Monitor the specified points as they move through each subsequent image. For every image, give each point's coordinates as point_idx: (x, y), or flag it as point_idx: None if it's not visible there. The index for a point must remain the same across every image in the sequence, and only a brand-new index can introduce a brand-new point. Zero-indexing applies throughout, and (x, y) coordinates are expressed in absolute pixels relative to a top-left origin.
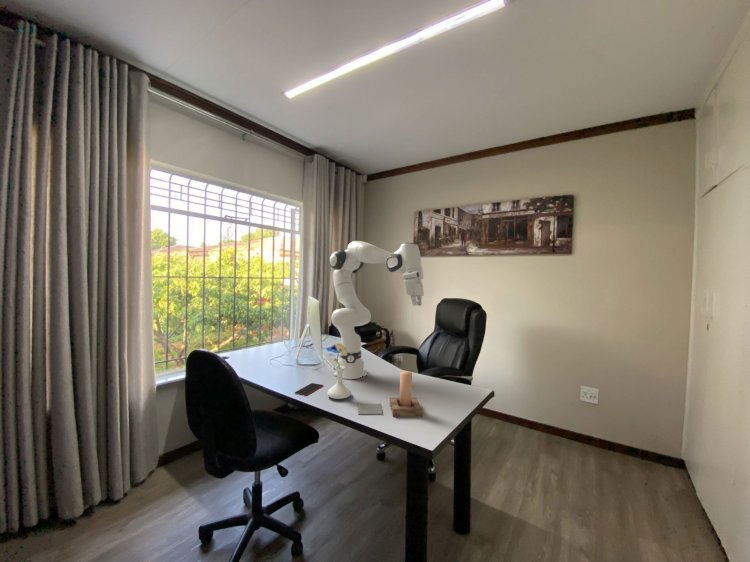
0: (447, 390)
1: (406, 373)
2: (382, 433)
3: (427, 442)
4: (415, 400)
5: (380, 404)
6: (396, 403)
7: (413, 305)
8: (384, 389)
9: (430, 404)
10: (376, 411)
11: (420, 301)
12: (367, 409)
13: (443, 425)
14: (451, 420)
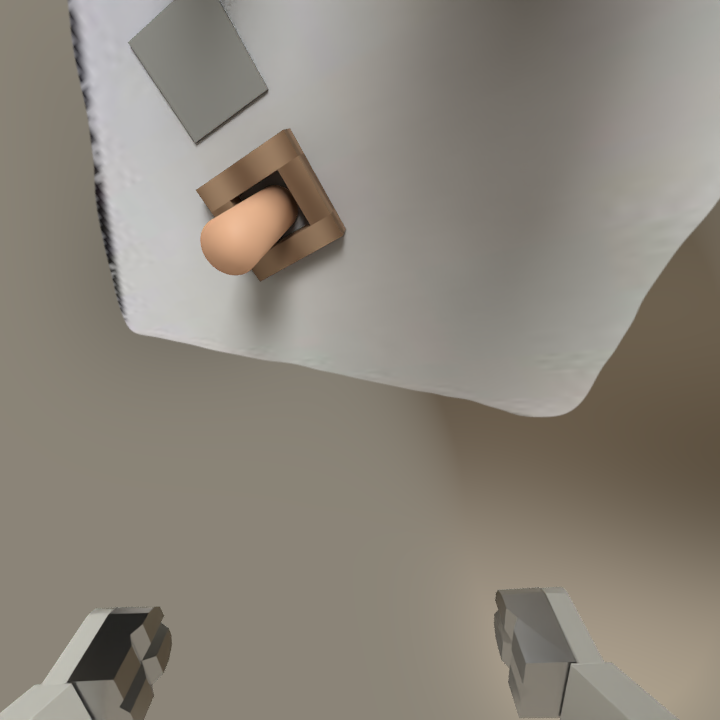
0: (532, 303)
1: (222, 251)
2: (97, 197)
3: (149, 317)
4: (314, 240)
5: (258, 92)
6: (248, 181)
7: (100, 609)
8: (447, 12)
9: (369, 274)
10: (194, 109)
11: (564, 717)
12: (183, 60)
13: (252, 335)
14: (292, 348)
